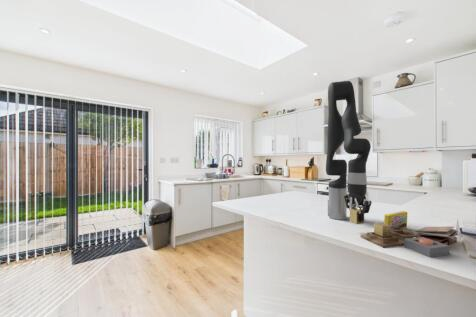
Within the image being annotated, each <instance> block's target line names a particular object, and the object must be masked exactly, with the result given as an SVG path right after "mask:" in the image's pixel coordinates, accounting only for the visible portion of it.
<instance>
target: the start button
mask: <svg viewBox="0 0 476 317" xmlns="http://www.w3.org/2000/svg"><path fill="white" fill-rule="evenodd" d="M426 238H427V237H424V238H419V243H422V244H425V245H428V246H429V245H433V241H434V240H433V239H430V238H427V239H426ZM432 240H433V241H432Z"/></svg>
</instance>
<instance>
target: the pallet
mask: <svg viewBox="0 0 476 317" xmlns="http://www.w3.org/2000/svg"><path fill="white" fill-rule="evenodd" d="M418 236H420V237H421V235H420V234H417V233H414V232H412V231H409V230H406V229H400V230H391V237H388V238H381V237H379V236H376V235H374V231H372V232H371V231H370V232H366V234H362V235H360V238H362V240H366V241H368V242H370V243H372V244H374V245H377V246H379V247H381V248H392V247H400V246H404V239H406V238H413V237H418Z"/></svg>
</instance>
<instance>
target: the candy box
mask: <svg viewBox="0 0 476 317" xmlns="http://www.w3.org/2000/svg"><path fill="white" fill-rule="evenodd" d="M383 219H384V222H383V223H385V224H388V225H391V230H400V229H403V230H406V229H407V228H408V211H404V210H402V211H397V212H392V213H388V214H386V213H385V214H384V217H383Z"/></svg>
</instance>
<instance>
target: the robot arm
mask: <svg viewBox="0 0 476 317" xmlns="http://www.w3.org/2000/svg"><path fill="white" fill-rule="evenodd" d="M355 95H356V94H355V88H354V84H353V83H352V82H351V81H350V80H342V81H334V82H331V83H329V85H328V88H327V104H328V105H327V106H328V107H327V108H328V114H327V115H328V116H327V117H328V119H327V120H328V121H327V135H326V136H327V137H326V138H327V148H326V150H327V151H326V158H325V159H326V160H325V161H326V163H325V172H326V175H327V176H334V177H335V176H339V177H338V178H337V179H335V180H331V181H330V182H329V183H328V199H327V217H329V218H330V219H333V220H338V221H339V220H341V221H342V220H347V213H348V212H347V209H349V211H350V209H351V208H358V212H359V213H358V221H359V222H363V221H364V222H365V214H369V213H370V209H371V207H372V200H368V199H367V197H366V194H367V190H368V189H367V184H368V181H367V178H368V177H367V161H368V159H369V155H370V152H371V143H370V141H369V140H368V139H367V138H355V137H356V136H359V135H360V134H362V133H361V132H362V126H361V124H360V120H359V118H358V113H357V104H356V103H357V102H356V96H355ZM338 101H346V106H345V109H344V112H343V114H342V115H341V113H340V111H339V109H338V106H337V102H338ZM342 145H343V150H344V151H345V153H347V154H349V155H357V156H356V157H355V158H353V159H350V160H348V164H347V161H346V160H345V159H334V156H335V154H336V153H337V150H338V149H339V148H340V147H341V146H342ZM347 193H348V195H347ZM361 209H362V211H361Z"/></svg>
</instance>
